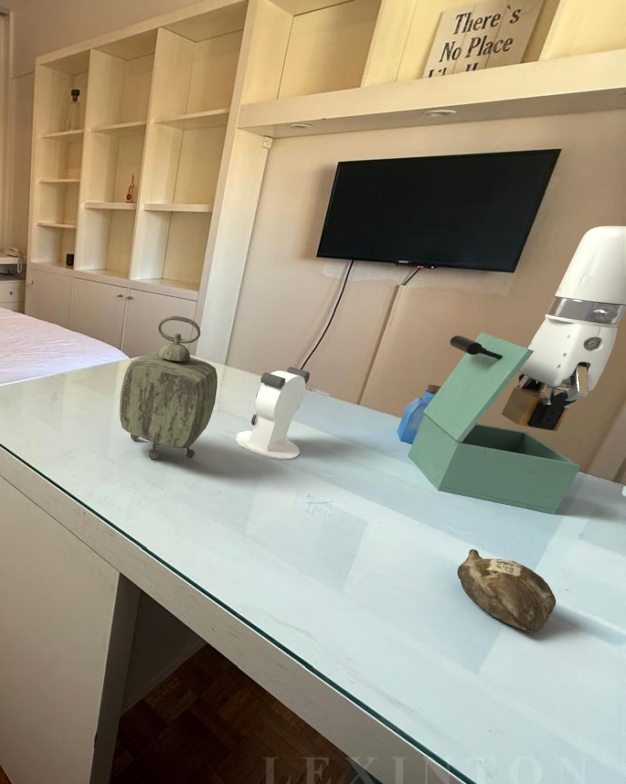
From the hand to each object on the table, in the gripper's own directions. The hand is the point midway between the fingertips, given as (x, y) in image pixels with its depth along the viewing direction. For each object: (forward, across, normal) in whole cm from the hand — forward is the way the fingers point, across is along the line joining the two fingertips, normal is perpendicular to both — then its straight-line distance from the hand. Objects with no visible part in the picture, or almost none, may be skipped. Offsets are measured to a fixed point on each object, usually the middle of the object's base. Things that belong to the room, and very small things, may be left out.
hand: (529, 420), depth 75 cm
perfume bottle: (+13, +17, +6) cm, 22 cm away
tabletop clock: (+13, -17, +57) cm, 61 cm away
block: (0, 0, 0) cm, 0 cm away
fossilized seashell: (+13, -36, +16) cm, 42 cm away
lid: (-4, 0, +9) cm, 10 cm away
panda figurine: (+13, -2, +37) cm, 40 cm away
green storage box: (+13, 0, +3) cm, 13 cm away
